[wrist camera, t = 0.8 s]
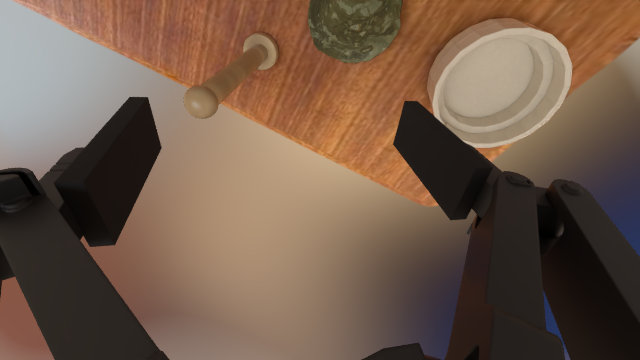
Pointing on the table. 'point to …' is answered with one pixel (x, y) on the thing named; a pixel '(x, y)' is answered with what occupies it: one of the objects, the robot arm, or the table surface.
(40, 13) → the table surface
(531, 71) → the bowl
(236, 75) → the pestle
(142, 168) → the robot arm
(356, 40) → the seashell
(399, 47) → the table surface
